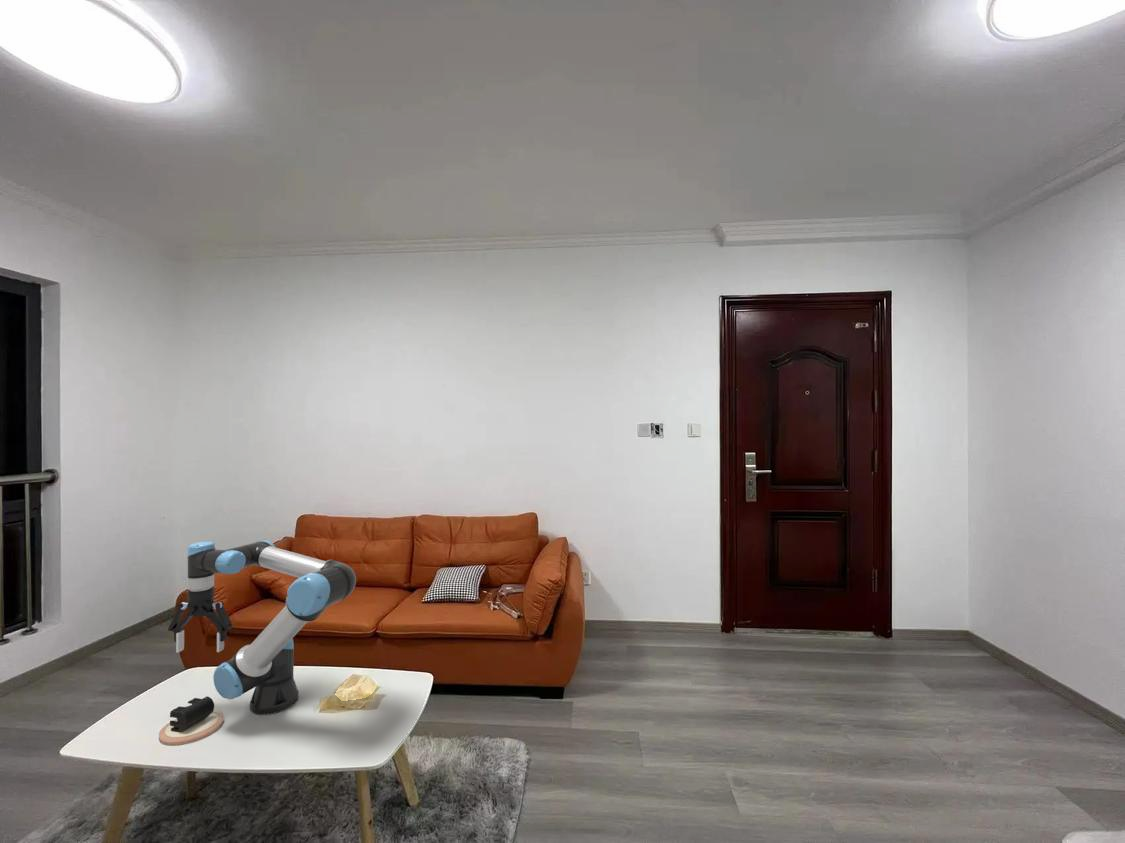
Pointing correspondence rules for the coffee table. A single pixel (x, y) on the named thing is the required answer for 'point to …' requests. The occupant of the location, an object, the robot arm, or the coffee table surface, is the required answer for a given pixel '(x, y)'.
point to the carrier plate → (191, 730)
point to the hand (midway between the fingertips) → (200, 650)
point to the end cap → (191, 713)
